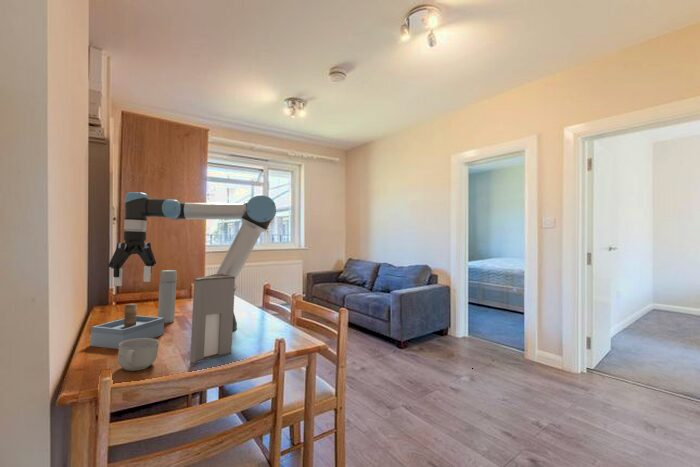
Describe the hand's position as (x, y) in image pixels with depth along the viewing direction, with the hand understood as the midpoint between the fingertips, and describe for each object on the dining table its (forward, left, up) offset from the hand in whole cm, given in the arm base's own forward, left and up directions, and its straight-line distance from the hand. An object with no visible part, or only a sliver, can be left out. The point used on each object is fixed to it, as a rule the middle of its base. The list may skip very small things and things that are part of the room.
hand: (133, 283), depth 129 cm
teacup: (-26, +24, -23) cm, 42 cm away
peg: (0, 0, -22) cm, 22 cm away
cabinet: (-42, +5, -23) cm, 48 cm away
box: (0, 0, -22) cm, 22 cm away
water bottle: (+7, -28, -23) cm, 37 cm away
